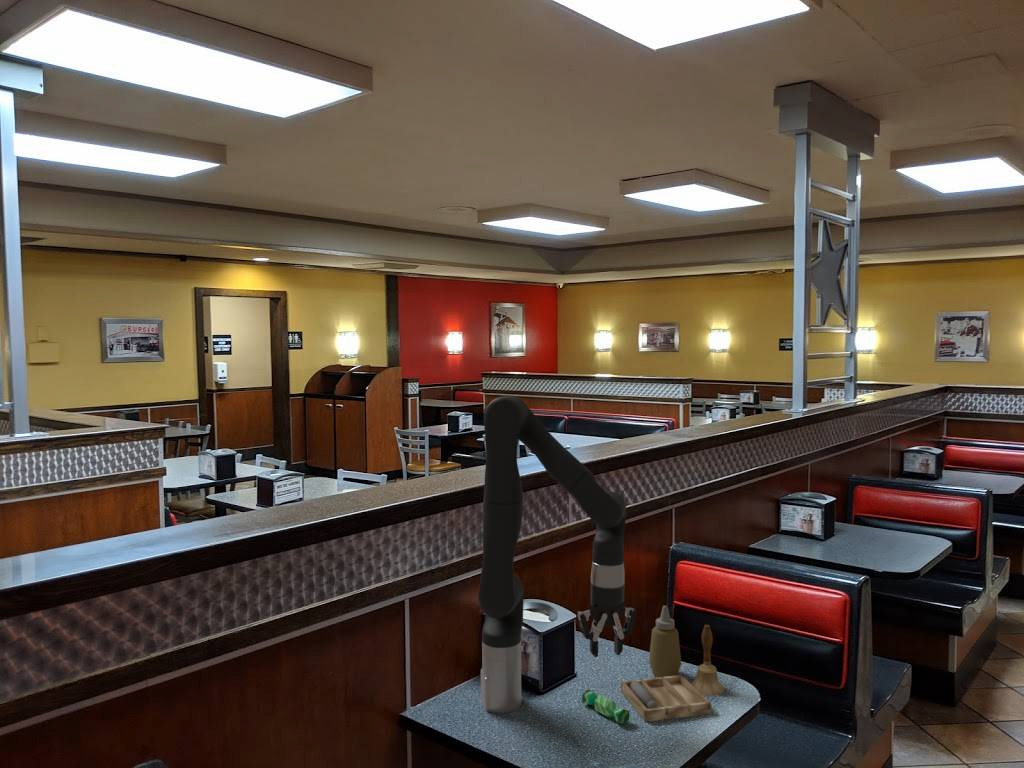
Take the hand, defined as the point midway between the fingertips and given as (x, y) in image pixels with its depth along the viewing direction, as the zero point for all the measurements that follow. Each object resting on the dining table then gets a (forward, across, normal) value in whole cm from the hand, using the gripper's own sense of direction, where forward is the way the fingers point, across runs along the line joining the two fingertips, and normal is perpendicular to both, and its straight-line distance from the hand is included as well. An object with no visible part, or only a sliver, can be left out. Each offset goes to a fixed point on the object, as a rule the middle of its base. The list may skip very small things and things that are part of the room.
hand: (606, 654), depth 170 cm
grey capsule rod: (+13, +10, +2) cm, 16 cm away
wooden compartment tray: (+14, +15, +2) cm, 21 cm away
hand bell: (+14, +28, +6) cm, 32 cm away
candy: (+14, 0, 0) cm, 14 cm away
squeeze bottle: (+14, +21, +15) cm, 29 cm away
